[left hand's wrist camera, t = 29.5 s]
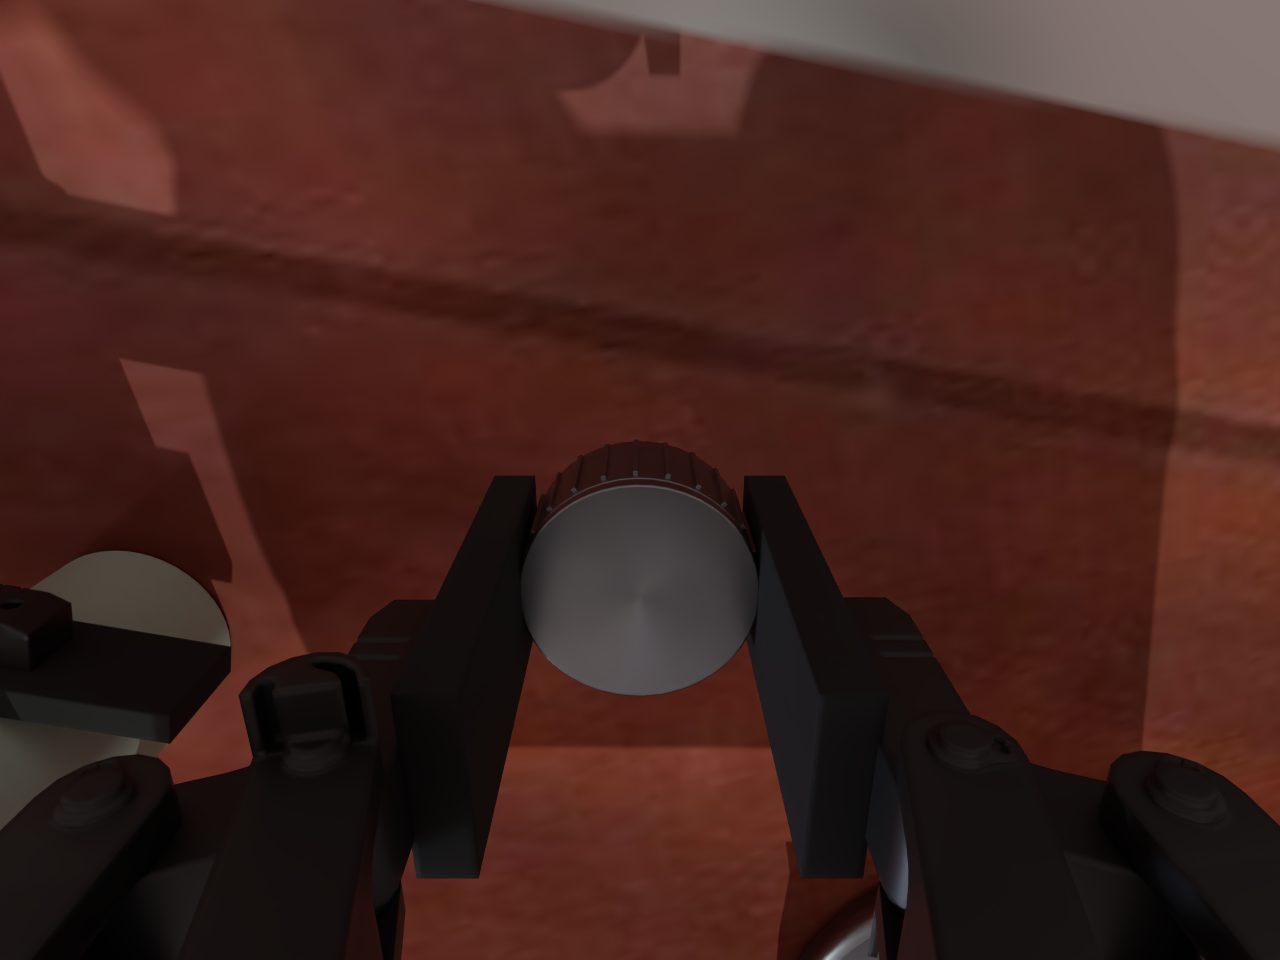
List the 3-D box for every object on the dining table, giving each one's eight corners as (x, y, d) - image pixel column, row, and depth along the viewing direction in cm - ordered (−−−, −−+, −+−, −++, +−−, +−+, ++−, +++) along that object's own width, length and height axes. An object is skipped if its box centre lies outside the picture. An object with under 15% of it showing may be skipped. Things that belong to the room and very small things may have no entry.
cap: (494, 489, 14) (470, 541, 12) (697, 402, 14) (706, 441, 12) (589, 658, 16) (581, 729, 14) (777, 586, 15) (798, 649, 13)
